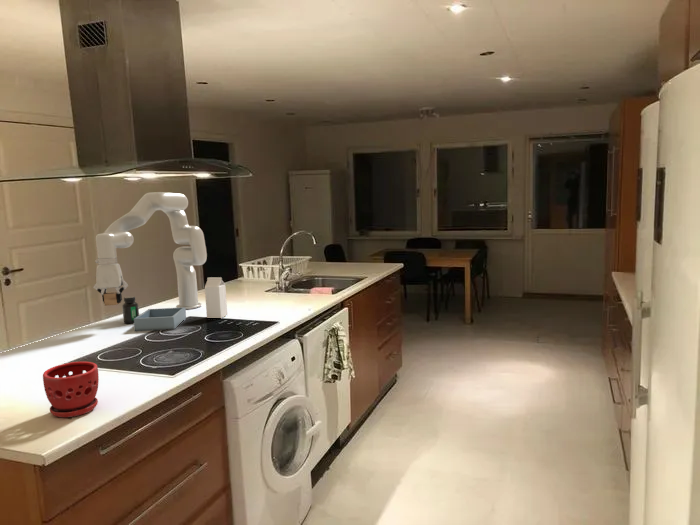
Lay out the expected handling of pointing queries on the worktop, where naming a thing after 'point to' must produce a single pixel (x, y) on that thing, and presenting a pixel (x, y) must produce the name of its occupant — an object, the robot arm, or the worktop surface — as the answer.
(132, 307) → the supplement bottle
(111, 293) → the tan wooden block
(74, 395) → the plant pot
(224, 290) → the milk carton
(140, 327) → the box
